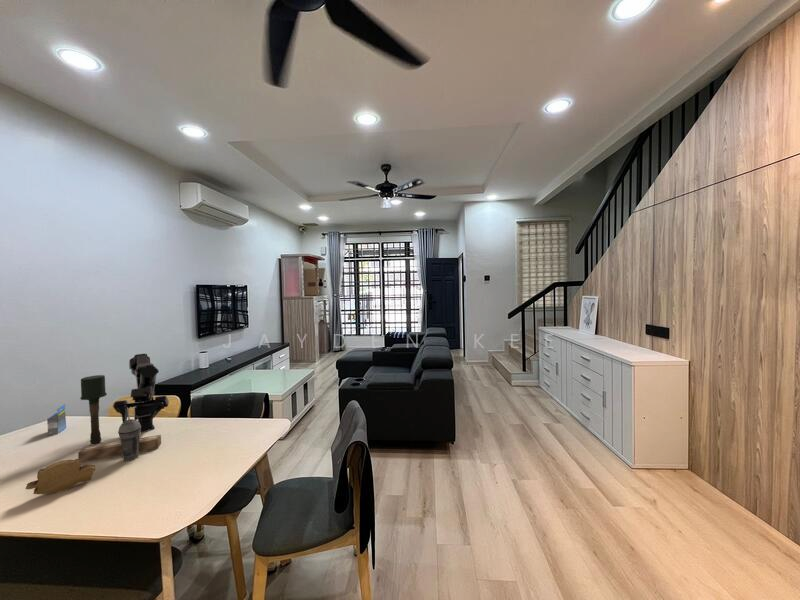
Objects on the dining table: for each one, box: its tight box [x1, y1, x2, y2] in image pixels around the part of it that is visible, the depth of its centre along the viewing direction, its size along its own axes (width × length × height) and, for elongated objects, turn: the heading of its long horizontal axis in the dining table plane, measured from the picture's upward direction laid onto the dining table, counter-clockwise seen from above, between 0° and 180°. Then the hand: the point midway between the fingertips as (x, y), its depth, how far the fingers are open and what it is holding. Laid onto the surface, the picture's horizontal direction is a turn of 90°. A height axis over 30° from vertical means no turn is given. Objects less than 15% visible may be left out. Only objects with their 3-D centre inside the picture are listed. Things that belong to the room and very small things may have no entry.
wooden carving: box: [25, 458, 97, 495], centre depth 110 cm, size 16×5×10 cm, turn 141°
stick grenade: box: [79, 374, 108, 446], centre depth 145 cm, size 8×9×30 cm
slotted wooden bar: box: [77, 434, 162, 463], centre depth 136 cm, size 26×5×4 cm, turn 114°
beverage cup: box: [117, 408, 142, 462], centre depth 131 cm, size 7×7×20 cm
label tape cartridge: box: [46, 403, 67, 436], centre depth 160 cm, size 9×4×12 cm, turn 28°
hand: (137, 422), depth 138 cm, fingers open, 9 cm apart
